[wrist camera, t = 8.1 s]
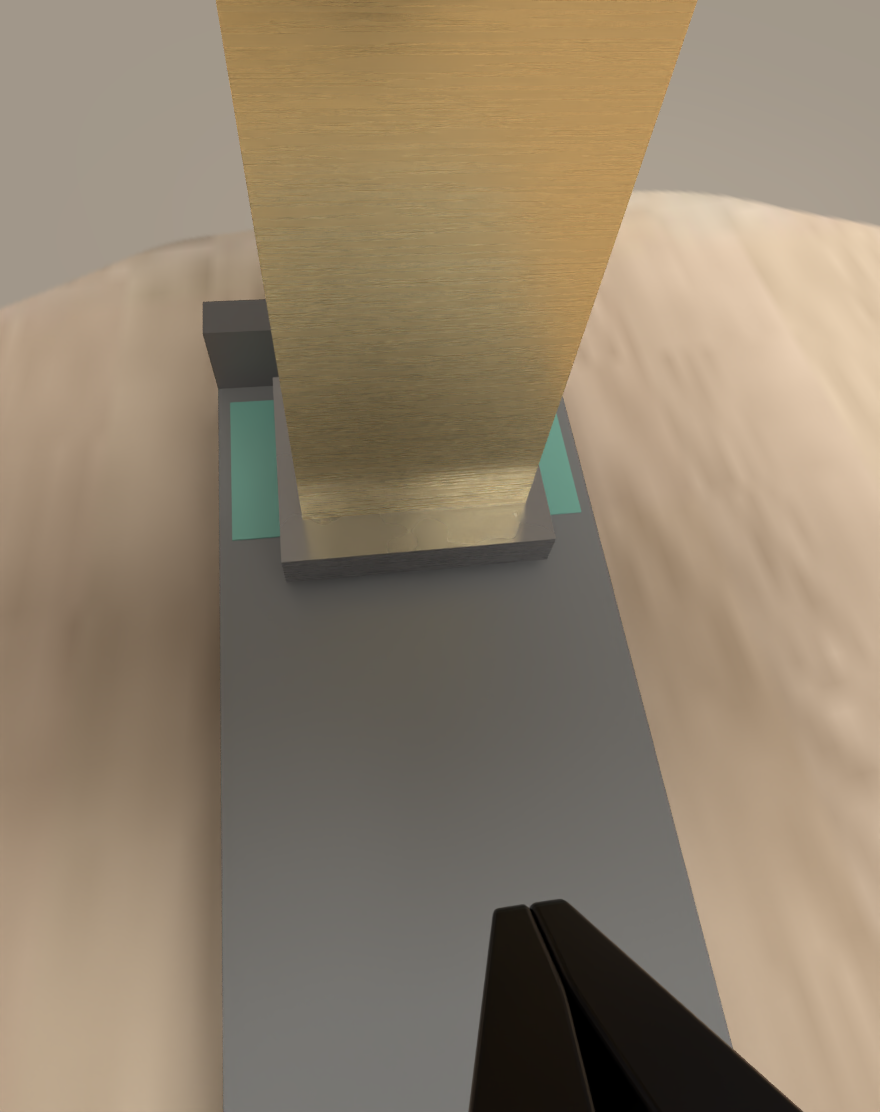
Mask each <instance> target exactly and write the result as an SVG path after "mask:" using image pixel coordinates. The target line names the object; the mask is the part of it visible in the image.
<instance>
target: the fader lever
mask: <svg viewBox="0 0 880 1112" xmlns="http://www.w3.org/2000/svg"><path fill="white" fill-rule="evenodd" d="M696 3H697V0H216V4H217V10H218V16H219V22H220V28H221V33H222V39H223V46H224V52H225V58H226V64H227V70H228V76H229V82H230V88H231V94H232V99H233V106H234V112H235V118H236V124H237V130H238V136H239V141H240V148H241V154H242V160H243V165H244V172H245V178H246V184H247V190H248V196H249V202H250V207H251V214H252V219H253V225H254V231H255V237H256V243H257V249H258V255H259V261H260V267H261V273H262V279H263V285H264V291H265V297H266V303H267V309H268V315H269V321H270V327H271V333H272V339H273V345H274V351H275V357H276V363H277V369H278V375H279V377H273V397H274V418H275V439H276V460H277V481H278V501H279V522H280V543H281V563H282V567H283V571H284V575H285V579H286V582H297V581H308V580H320V579H331V578H342V577H353V576H365V575H376V574H387V573H398V572H410V571H421V570H432V569H443V568H454V567H466V566H477V565H488V564H499V563H511V562H522V561H533V560H544V559H547V558H548V556H549V554H550V551H551V549H552V547H553V545H554V543H555V540H556V536H555V532H554V528H553V523H552V519H551V515H550V510H549V506H548V502H547V497H546V493H545V489H544V484H543V480H542V476H541V471H540V467H539V462H540V459H541V456H542V453H543V450H544V447H545V445H546V442H547V439H548V436H549V433H550V430H551V427H552V424H553V421H554V418H555V415H556V412H557V409H558V407H559V404H560V401H561V398H562V395H563V392H564V389H565V386H566V383H567V380H568V377H569V374H570V371H571V368H572V366H573V363H574V360H575V357H576V354H577V351H578V348H579V345H580V342H581V339H582V336H583V333H584V330H585V328H586V325H587V322H588V319H589V316H590V313H591V310H592V307H593V304H594V301H595V298H596V295H597V292H598V290H599V287H600V284H601V281H602V278H603V275H604V272H605V269H606V266H607V263H608V260H609V257H610V254H611V252H612V249H613V246H614V243H615V240H616V237H617V234H618V231H619V228H620V225H621V222H622V219H623V216H624V214H625V211H626V208H627V205H628V202H629V199H630V196H631V193H632V190H633V187H634V184H635V181H636V178H637V176H638V173H639V170H640V167H641V164H642V161H643V158H644V155H645V152H646V149H647V146H648V143H649V140H650V138H651V135H652V132H653V128H654V126H655V123H656V120H657V117H658V114H659V111H660V108H661V105H662V102H663V99H664V96H665V94H666V91H667V87H668V85H669V82H670V79H671V76H672V73H673V70H674V67H675V64H676V61H677V59H678V55H679V53H680V50H681V47H682V44H683V41H684V38H685V35H686V32H687V29H688V26H689V23H690V21H691V18H692V14H693V12H694V8H695V6H696Z"/></svg>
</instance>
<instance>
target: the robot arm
mask: <svg viewBox="0 0 880 1112" xmlns="http://www.w3.org/2000/svg"><path fill="white" fill-rule="evenodd" d="M468 1112H803V1111H802V1110H801V1109H800V1108H799V1107H797V1106H796V1105H795V1104H794V1103H793V1102H792V1101H791V1100H790V1099H788V1098H787V1097H786V1096H785V1095H784V1094H783V1093H782V1092H781V1091H779V1090H778V1089H777V1088H776V1087H775V1086H774V1085H773V1084H772V1083H770V1082H769V1081H768V1080H767V1079H766V1078H765V1077H764V1076H763V1075H762V1074H760V1073H759V1072H758V1071H757V1070H756V1069H755V1068H754V1067H753V1066H751V1065H750V1064H749V1063H748V1062H747V1061H746V1060H745V1059H744V1058H742V1057H741V1056H740V1055H739V1054H738V1053H737V1052H736V1051H735V1050H733V1049H732V1048H731V1047H730V1046H729V1045H728V1044H727V1043H726V1042H724V1041H723V1040H722V1039H721V1038H720V1037H719V1036H718V1035H717V1034H716V1033H714V1032H713V1031H712V1030H711V1029H710V1028H709V1027H708V1026H707V1025H705V1024H704V1023H703V1022H702V1021H701V1020H700V1019H699V1018H698V1017H696V1016H695V1015H694V1014H693V1013H692V1012H691V1011H690V1010H689V1009H687V1008H686V1007H685V1006H684V1005H683V1004H682V1003H681V1002H680V1001H678V1000H677V999H676V998H675V997H674V996H673V995H672V994H671V993H670V992H668V991H667V990H666V989H665V988H664V987H663V986H662V985H661V984H659V983H658V982H657V981H656V980H655V979H654V978H653V977H652V976H650V975H649V974H648V973H647V972H646V971H645V970H644V969H643V968H641V967H640V966H639V965H638V964H637V963H636V962H635V961H634V960H632V959H631V958H630V957H629V956H628V955H627V954H626V953H625V952H624V951H622V950H621V949H620V948H619V947H618V946H617V945H616V944H615V943H613V942H612V941H611V940H610V939H609V938H608V937H607V936H606V935H604V934H603V933H602V932H601V931H600V930H599V929H598V928H597V927H595V926H594V925H593V924H592V923H591V922H590V921H589V920H588V919H586V918H585V917H584V916H583V915H582V914H581V913H580V912H579V911H578V910H576V909H575V908H574V907H573V906H572V905H571V904H570V903H568V902H567V901H565V900H563V899H554V900H547V901H541V902H535V903H533V904H532V905H531V906H530V907H528V906H526V905H524V904H521V905H514V906H507V907H501V908H497V909H495V910H494V912H493V916H492V923H491V931H490V939H489V947H488V956H487V964H486V972H485V980H484V988H483V996H482V1004H481V1013H480V1021H479V1029H478V1037H477V1045H476V1053H475V1061H474V1070H473V1078H472V1086H471V1094H470V1102H469V1110H468Z"/></svg>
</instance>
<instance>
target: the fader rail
mask: <svg viewBox="0 0 880 1112" xmlns="http://www.w3.org/2000/svg"><path fill="white" fill-rule="evenodd" d="M203 336H204V340H205V343H206V347H207V350H208V354H209V357H210V361H211V365H212V368H213V372H214V375H215V379H216V382H217V386H218V419H219V561H220V703H221V845H222V987H223V1112H468V1110H469V1102H470V1094H471V1086H472V1078H473V1070H474V1061H475V1053H476V1045H477V1037H478V1029H479V1021H480V1013H481V1004H482V996H483V988H484V980H485V972H486V964H487V956H488V947H489V939H490V931H491V923H492V916H493V912H494V910H495V909H497V908H501V907H507V906H514V905H521V904H524V905H526V906H528V907H530V906H531V905H532V904H533V903H535V902H541V901H547V900H554V899H563V900H565V901H567V902H568V903H570V904H571V905H572V906H573V907H574V908H575V909H576V910H578V911H579V912H580V913H581V914H582V915H583V916H584V917H585V918H586V919H588V920H589V921H590V922H591V923H592V924H593V925H594V926H595V927H597V928H598V929H599V930H600V931H601V932H602V933H603V934H604V935H606V936H607V937H608V938H609V939H610V940H611V941H612V942H613V943H615V944H616V945H617V946H618V947H619V948H620V949H621V950H622V951H624V952H625V953H626V954H627V955H628V956H629V957H630V958H631V959H632V960H634V961H635V962H636V963H637V964H638V965H639V966H640V967H641V968H643V969H644V970H645V971H646V972H647V973H648V974H649V975H650V976H652V977H653V978H654V979H655V980H656V981H657V982H658V983H659V984H661V985H662V986H663V987H664V988H665V989H666V990H667V991H668V992H670V993H671V994H672V995H673V996H674V997H675V998H676V999H677V1000H678V1001H680V1002H681V1003H682V1004H683V1005H684V1006H685V1007H686V1008H687V1009H689V1010H690V1011H691V1012H692V1013H693V1014H694V1015H695V1016H696V1017H698V1018H699V1019H700V1020H701V1021H702V1022H703V1023H704V1024H705V1025H707V1026H708V1027H709V1028H710V1029H711V1030H712V1031H713V1032H714V1033H716V1034H717V1035H718V1036H719V1037H720V1038H721V1039H722V1040H723V1041H724V1042H726V1043H727V1044H728V1045H729V1046H730V1047H731V1048H732V1049H733V1047H732V1043H731V1039H730V1036H729V1032H728V1028H727V1024H726V1020H725V1016H724V1013H723V1009H722V1005H721V1001H720V997H719V993H718V990H717V986H716V982H715V978H714V974H713V970H712V967H711V963H710V959H709V955H708V951H707V948H706V944H705V940H704V936H703V932H702V928H701V925H700V921H699V917H698V913H697V909H696V905H695V902H694V898H693V894H692V890H691V886H690V882H689V879H688V875H687V871H686V867H685V863H684V859H683V856H682V852H681V848H680V844H679V840H678V836H677V833H676V829H675V825H674V821H673V817H672V813H671V810H670V806H669V802H668V798H667V794H666V790H665V787H664V783H663V779H662V775H661V771H660V767H659V764H658V760H657V756H656V752H655V748H654V745H653V741H652V737H651V733H650V729H649V725H648V722H647V718H646V714H645V710H644V706H643V702H642V699H641V695H640V691H639V687H638V683H637V679H636V676H635V672H634V668H633V664H632V660H631V656H630V653H629V649H628V645H627V641H626V637H625V633H624V630H623V626H622V622H621V618H620V614H619V610H618V607H617V603H616V599H615V595H614V591H613V587H612V584H611V580H610V576H609V572H608V568H607V564H606V561H605V557H604V553H603V549H602V545H601V541H600V538H599V534H598V530H597V526H596V522H595V519H594V515H593V511H592V507H591V503H590V499H589V496H588V492H587V488H586V484H585V480H584V476H583V473H582V469H581V465H580V461H579V457H578V453H577V450H576V446H575V442H574V438H573V434H572V430H571V427H570V423H569V419H568V415H567V411H566V407H565V404H564V400H563V396H562V398H561V401H560V404H559V407H558V409H557V412H556V415H555V418H554V421H553V424H552V427H551V430H550V433H549V436H548V439H547V442H546V445H545V447H544V450H543V453H542V456H541V459H540V462H539V467H540V471H541V476H542V480H543V484H544V489H545V493H546V497H547V502H548V506H549V510H550V515H551V519H552V523H553V528H554V532H555V536H556V540H555V543H554V545H553V547H552V549H551V551H550V554H549V556H548V558H547V559H544V560H533V561H522V562H511V563H499V564H488V565H477V566H466V567H454V568H443V569H432V570H421V571H410V572H398V573H387V574H376V575H365V576H353V577H342V578H331V579H320V580H308V581H297V582H286V579H285V575H284V571H283V567H282V563H281V543H280V522H279V501H278V481H277V460H276V439H275V418H274V397H273V377H279V375H278V369H277V363H276V357H275V351H274V345H273V339H272V333H271V327H270V321H269V315H268V309H267V303H266V299H263V300H238V301H214V302H203Z"/></svg>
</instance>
